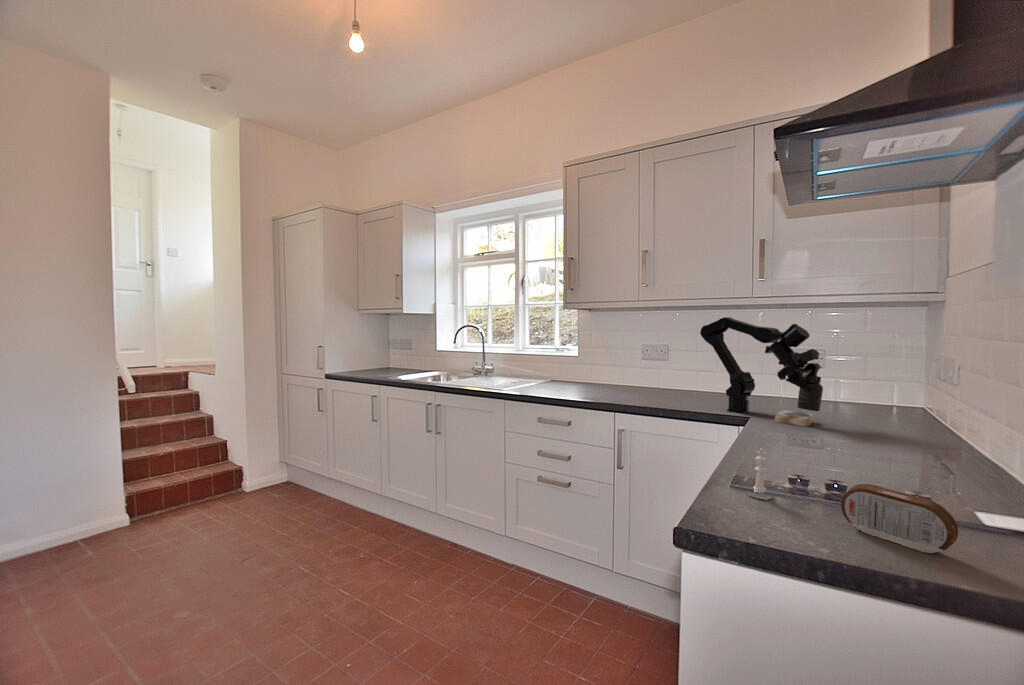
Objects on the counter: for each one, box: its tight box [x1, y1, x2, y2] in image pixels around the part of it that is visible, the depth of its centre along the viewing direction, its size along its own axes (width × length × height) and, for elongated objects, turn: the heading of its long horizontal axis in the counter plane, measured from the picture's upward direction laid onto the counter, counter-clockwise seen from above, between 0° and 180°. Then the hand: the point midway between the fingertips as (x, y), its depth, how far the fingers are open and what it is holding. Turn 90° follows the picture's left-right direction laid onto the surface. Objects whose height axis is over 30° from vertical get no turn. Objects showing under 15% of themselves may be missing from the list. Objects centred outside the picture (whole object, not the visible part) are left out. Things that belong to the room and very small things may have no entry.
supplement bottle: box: [796, 375, 824, 412], centre depth 160 cm, size 7×7×12 cm
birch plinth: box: [774, 409, 815, 427], centre depth 166 cm, size 10×10×3 cm
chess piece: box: [752, 448, 767, 493], centre depth 95 cm, size 5×5×10 cm
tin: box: [840, 483, 959, 551], centre depth 76 cm, size 15×3×8 cm, turn 35°
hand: (815, 390), depth 159 cm, fingers closed on supplement bottle, 7 cm apart
